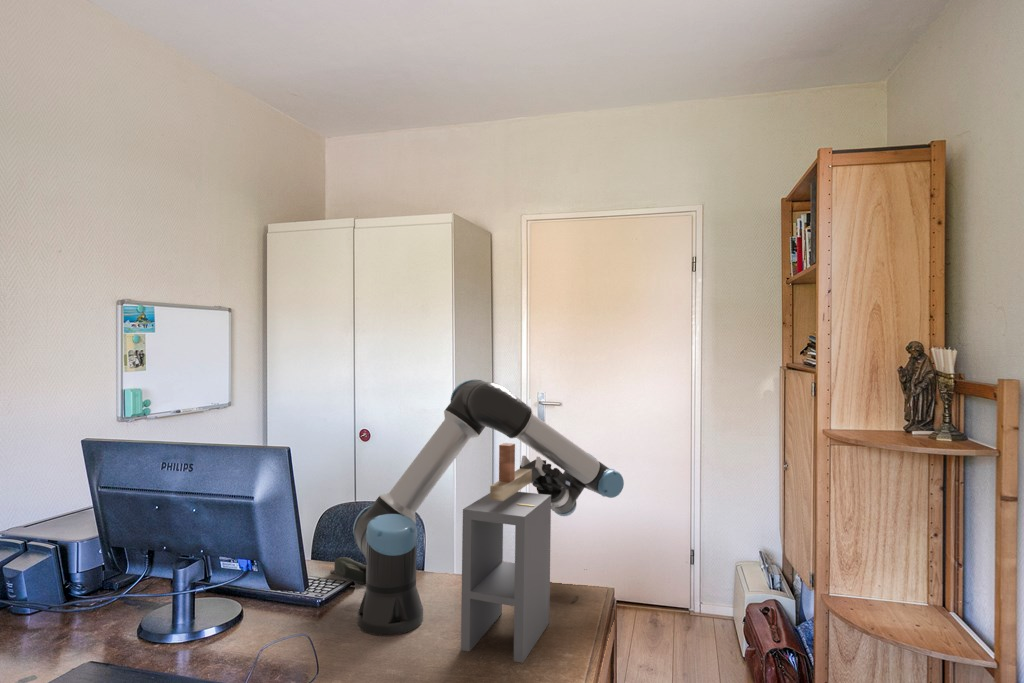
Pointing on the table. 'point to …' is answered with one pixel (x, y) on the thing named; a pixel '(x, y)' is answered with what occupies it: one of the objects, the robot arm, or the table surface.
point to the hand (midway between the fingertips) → (530, 461)
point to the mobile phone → (350, 570)
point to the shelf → (506, 569)
